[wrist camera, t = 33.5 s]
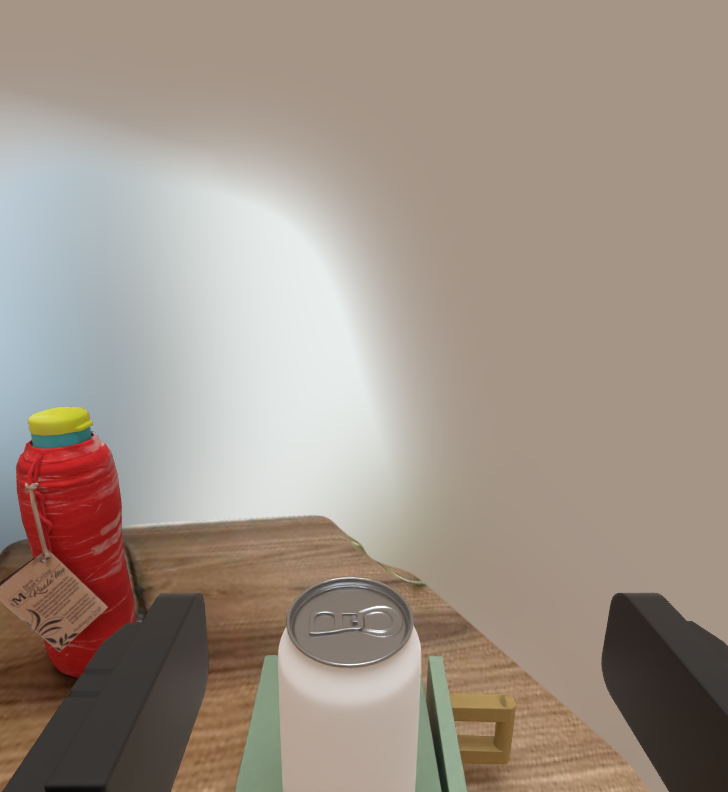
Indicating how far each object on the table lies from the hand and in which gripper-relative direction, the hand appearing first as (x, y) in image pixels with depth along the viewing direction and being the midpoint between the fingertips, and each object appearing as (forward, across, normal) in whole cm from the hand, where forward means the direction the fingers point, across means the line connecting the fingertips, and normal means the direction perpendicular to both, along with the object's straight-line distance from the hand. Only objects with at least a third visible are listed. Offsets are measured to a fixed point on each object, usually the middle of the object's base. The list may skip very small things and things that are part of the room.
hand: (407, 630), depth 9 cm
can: (+10, +1, +20) cm, 23 cm away
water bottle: (+30, +26, +30) cm, 50 cm away
